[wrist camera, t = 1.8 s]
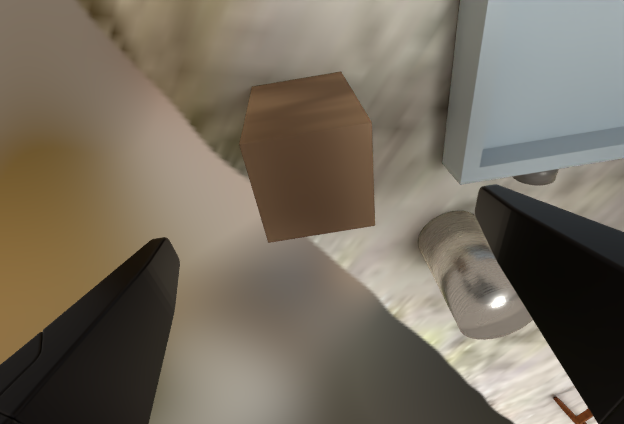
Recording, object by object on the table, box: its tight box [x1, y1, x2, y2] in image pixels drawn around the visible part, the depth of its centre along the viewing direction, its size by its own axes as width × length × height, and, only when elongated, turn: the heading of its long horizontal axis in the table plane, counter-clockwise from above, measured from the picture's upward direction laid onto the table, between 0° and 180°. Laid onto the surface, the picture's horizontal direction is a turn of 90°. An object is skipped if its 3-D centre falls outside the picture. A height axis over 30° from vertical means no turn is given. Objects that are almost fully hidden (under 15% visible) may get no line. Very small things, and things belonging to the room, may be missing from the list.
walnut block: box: [239, 72, 375, 243], centre depth 13 cm, size 4×4×6 cm
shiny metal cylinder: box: [418, 211, 533, 339], centre depth 19 cm, size 4×4×6 cm
